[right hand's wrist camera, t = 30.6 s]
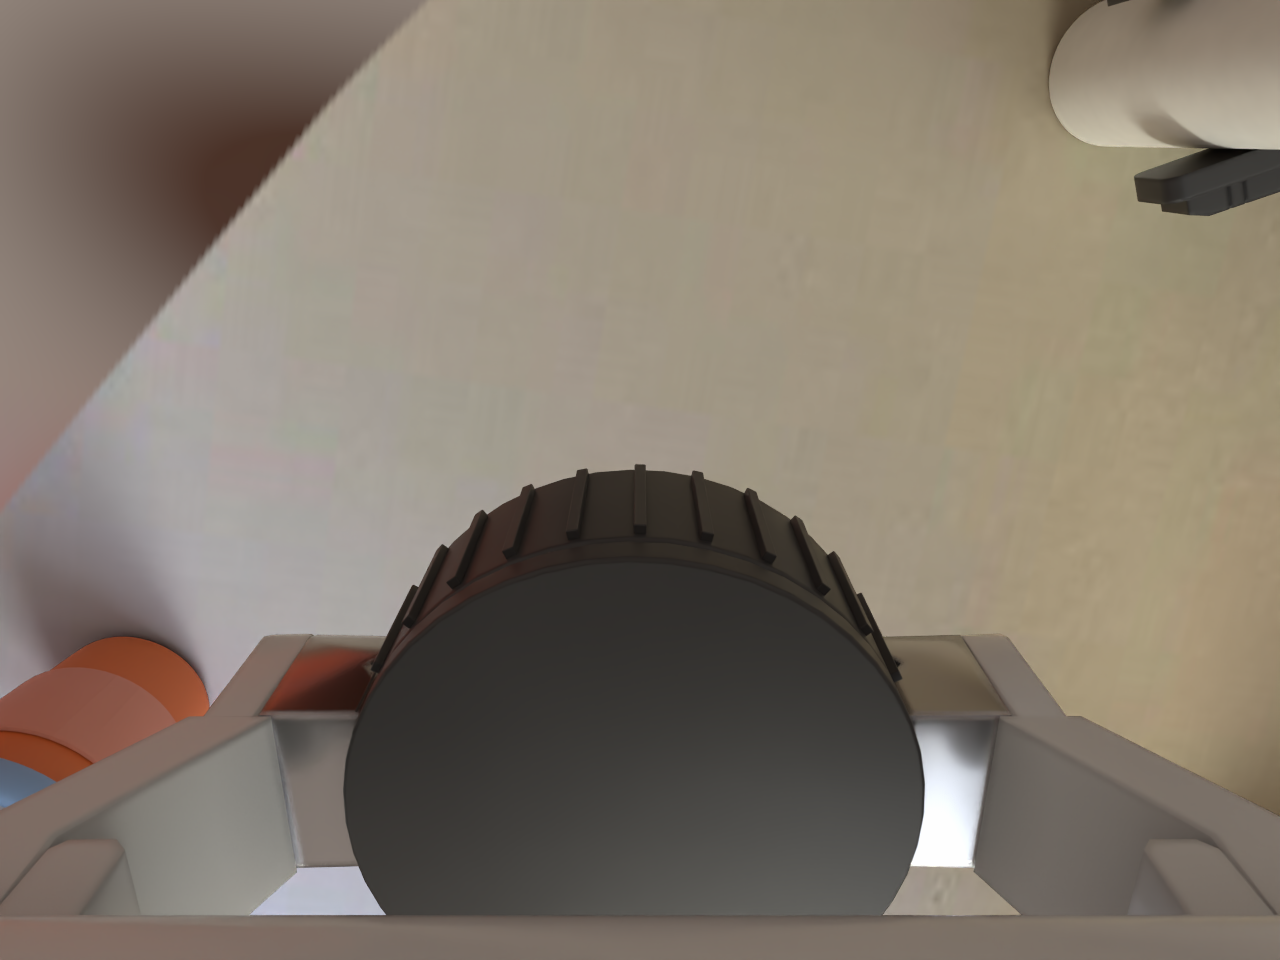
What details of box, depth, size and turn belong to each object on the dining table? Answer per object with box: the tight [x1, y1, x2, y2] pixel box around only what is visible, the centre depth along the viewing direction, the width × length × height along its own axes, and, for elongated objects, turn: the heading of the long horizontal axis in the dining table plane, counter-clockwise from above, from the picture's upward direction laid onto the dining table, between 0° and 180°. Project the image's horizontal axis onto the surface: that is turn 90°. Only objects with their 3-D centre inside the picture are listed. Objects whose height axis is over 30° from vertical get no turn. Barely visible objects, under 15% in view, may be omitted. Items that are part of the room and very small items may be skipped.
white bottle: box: [1049, 0, 1280, 150], centre depth 23 cm, size 5×5×16 cm
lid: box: [343, 464, 925, 915], centre depth 9 cm, size 5×5×2 cm
